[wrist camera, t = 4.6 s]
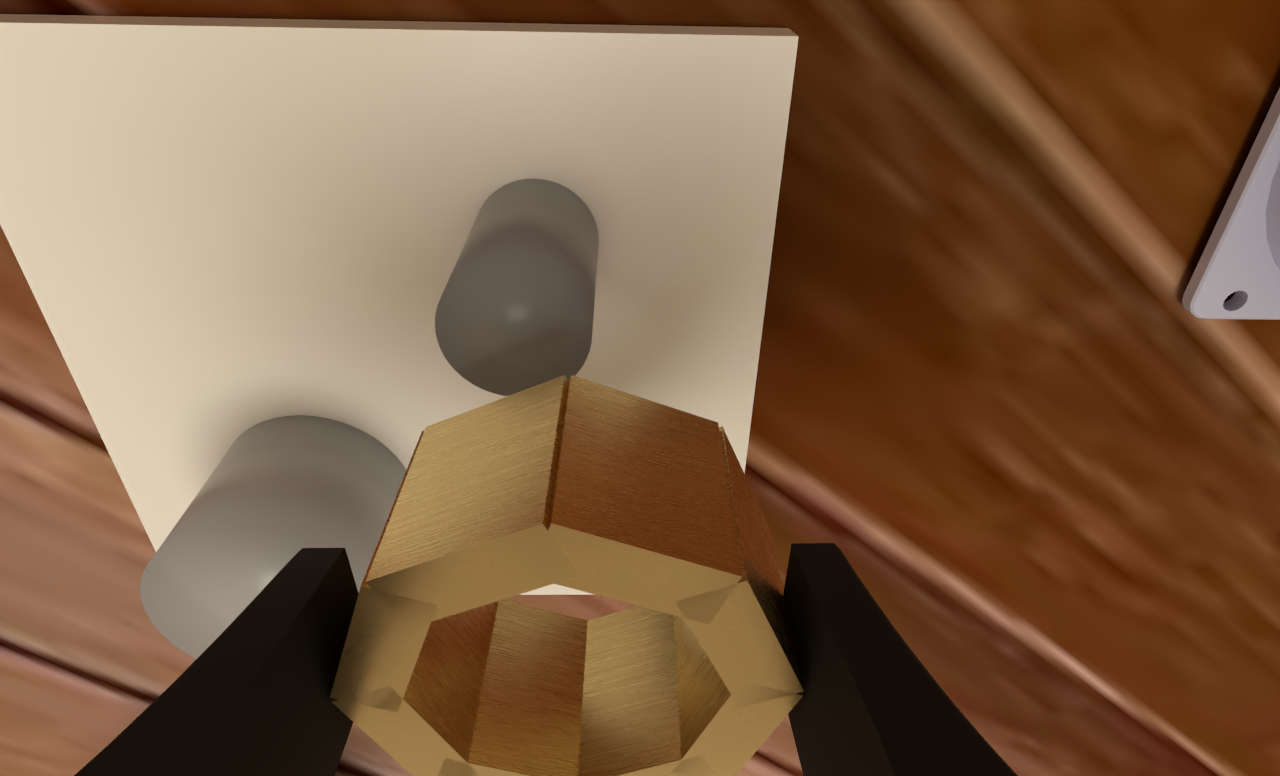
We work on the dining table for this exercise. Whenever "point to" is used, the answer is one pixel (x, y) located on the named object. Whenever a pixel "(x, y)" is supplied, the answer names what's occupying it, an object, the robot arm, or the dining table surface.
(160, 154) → the stub board
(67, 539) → the dining table surface
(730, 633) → the ring
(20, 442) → the dining table surface
